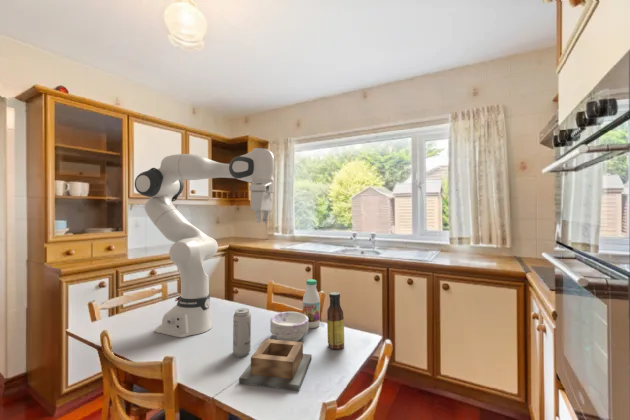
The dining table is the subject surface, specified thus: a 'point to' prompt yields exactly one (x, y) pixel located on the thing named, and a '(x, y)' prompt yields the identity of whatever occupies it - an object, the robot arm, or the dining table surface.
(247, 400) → the dining table surface
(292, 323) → the paper bowls
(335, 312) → the sauce bottle
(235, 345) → the energy drink can
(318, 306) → the milk bottle
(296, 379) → the socket holder
